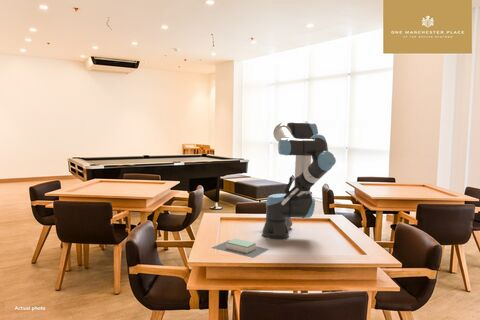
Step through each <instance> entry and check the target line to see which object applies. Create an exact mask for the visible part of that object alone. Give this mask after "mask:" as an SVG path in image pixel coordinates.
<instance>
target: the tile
mask: <svg viewBox="0 0 480 320" xmlns="http://www.w3.org/2000/svg"><path fill="white" fill-rule="evenodd" d="M227 241H228V242H227V246H226V248H228V249H232V250H237V251H241V252H245V253H248V252H250V251H252V250H254V249H256V246H257V243H256V242H253V241H248V240H244V239H239V238H233V239H231V240H230V241H229V240H227Z"/></svg>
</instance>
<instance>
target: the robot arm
mask: <svg viewBox="0 0 480 320" xmlns="http://www.w3.org/2000/svg"><path fill="white" fill-rule="evenodd" d="M317 126H318V125H317V124H316V123H315V122H313V121H299V120H298V121H296V120H295V121H294V120H293V121H291V120H287V121H283V122H281V123H279V124H277V125H276V126H275V127H274V129H273V137H274V139H275V141H276V142H278V144H277V145H278V146H277V147H278V148H277V150H278V154H279V155H281V156H282V155H283V156H295V162H294V163H295V164H294V175H293V174H292V175H291V176H289V180H288V184H287V185H286V188H285V189H284V193H273V194H270V195H269V196H267V197H266V203H265V205H267V207H265V209H266V210H265V222H264V226H263V228H262V232H261V235H262V236H263V237H265V238H268V239H279V240H280V239H287V238H289V236H290V231H289V229H288V227H287V223H286V219H287V217H290V218H291V219H292V218H293V219H294V218H295V219H297V218H299V219H309V218H312V216H313V215H314V212H315V208H316V206H315V205H316V204H315V203H316V199H315V197H314V196H313V193H312V192H313V191H311V188H312V187H313V186H314V185H315V184H317V182H318V181H319V180H320V179H321V178H322V177H324V176H325V174H326V173H328V172H329V171H330V170H331V169H332V167H334V166H335V164H336V163H337V159H336V157H335V155H334V154H333V153H332V152H330V151H329V148H328V143H327V139H326V137H325V136H324V135H323V134H319V129H318V127H317ZM293 182H294V183H293ZM293 184H294V185H293ZM292 185H293V187H292V188H291V186H292ZM290 188H291V189H290Z"/></svg>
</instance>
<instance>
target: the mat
mask: <svg viewBox="0 0 480 320" xmlns="http://www.w3.org/2000/svg"><path fill="white" fill-rule="evenodd" d="M228 241H231V240H227V241H224V242H222V243H219V244H217V245H214V246H212V247H211V249H214V250H215V249H216V250H218V251H221V252H222V251H223V252H226V253H227V252H228V253H232V254H236V255H240V256H244V257H249V258H252V259H254V258H257V257H258V256H260V255H262V254H264V253H265V252H267V251H269V250H270V248H266V247H263V246H257V245H256V249H254V250H252V251H250V252H248V253H245V252H241V251H237V250H232V249H228V248H226V246H227V242H228Z"/></svg>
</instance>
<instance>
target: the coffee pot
mask: <svg viewBox="0 0 480 320" xmlns="http://www.w3.org/2000/svg"><path fill="white" fill-rule="evenodd" d="M260 205H261V206H263V207H265V208H266V207H267V205H266V204H264V203H262V202H259V204H258V206H260ZM286 223H287V227H288V230H289V229H290V228H291V227H292V226H293V221H292V218H290V217H287V219H286Z"/></svg>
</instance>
